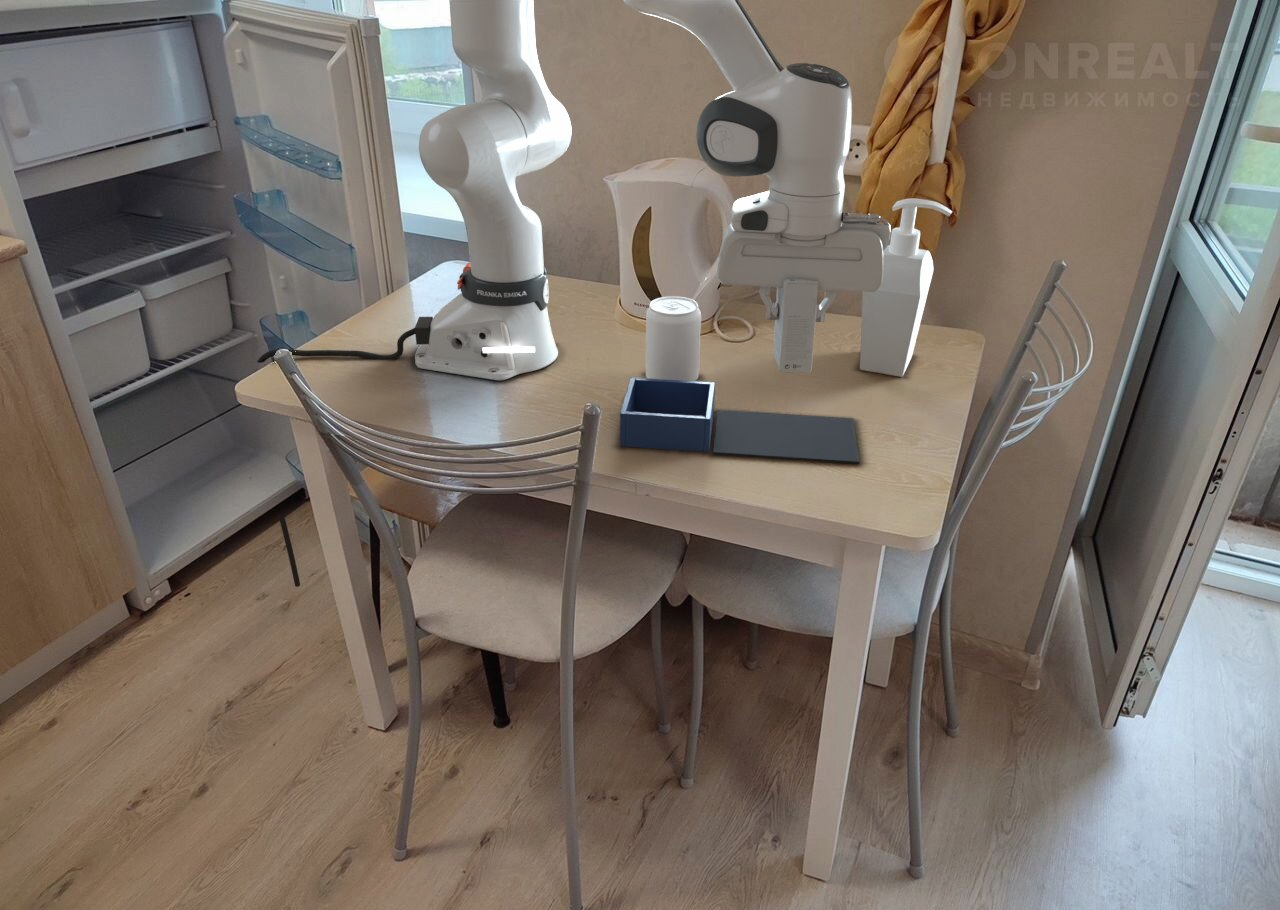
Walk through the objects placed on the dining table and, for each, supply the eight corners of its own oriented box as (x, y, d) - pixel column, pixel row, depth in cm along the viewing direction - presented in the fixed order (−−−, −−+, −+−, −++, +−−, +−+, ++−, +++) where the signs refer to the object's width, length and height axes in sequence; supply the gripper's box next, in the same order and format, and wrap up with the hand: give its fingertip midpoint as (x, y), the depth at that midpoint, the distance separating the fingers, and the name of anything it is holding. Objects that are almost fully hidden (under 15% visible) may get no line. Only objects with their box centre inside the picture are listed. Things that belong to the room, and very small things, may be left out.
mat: (712, 454, 124) (712, 452, 124) (717, 412, 134) (717, 409, 134) (859, 464, 122) (859, 461, 122) (852, 420, 132) (852, 418, 132)
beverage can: (664, 395, 139) (666, 319, 133) (635, 374, 145) (635, 301, 138) (709, 382, 142) (712, 308, 136) (679, 363, 148) (681, 291, 142)
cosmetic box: (812, 373, 120) (822, 282, 114) (777, 373, 120) (785, 283, 113) (803, 353, 125) (812, 265, 119) (770, 353, 125) (777, 266, 119)
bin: (620, 446, 126) (619, 413, 123) (630, 408, 135) (630, 377, 132) (708, 452, 124) (710, 419, 122) (713, 413, 134) (715, 382, 131)
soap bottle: (917, 385, 142) (946, 216, 129) (851, 373, 145) (873, 207, 132) (930, 354, 152) (958, 194, 138) (868, 343, 155) (890, 186, 142)
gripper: (890, 207, 114) (875, 314, 121) (721, 201, 116) (716, 306, 123) (896, 222, 109) (880, 333, 116) (719, 215, 111) (714, 324, 118)
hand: (794, 319), depth 119 cm, fingers closed on cosmetic box, 4 cm apart
